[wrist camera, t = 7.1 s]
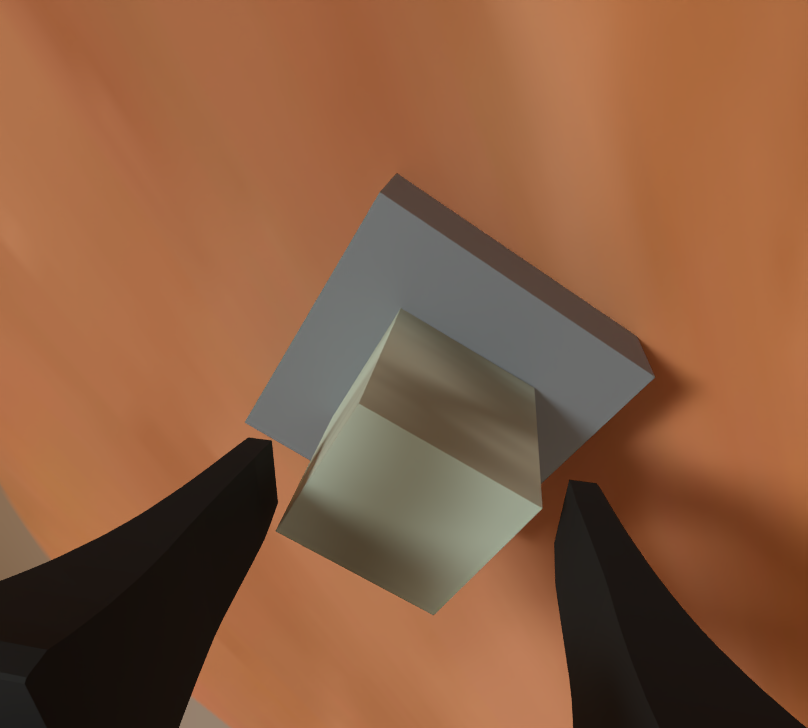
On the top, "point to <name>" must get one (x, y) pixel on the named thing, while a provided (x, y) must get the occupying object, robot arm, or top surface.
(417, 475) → the sage block
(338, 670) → the top surface
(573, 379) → the plate
